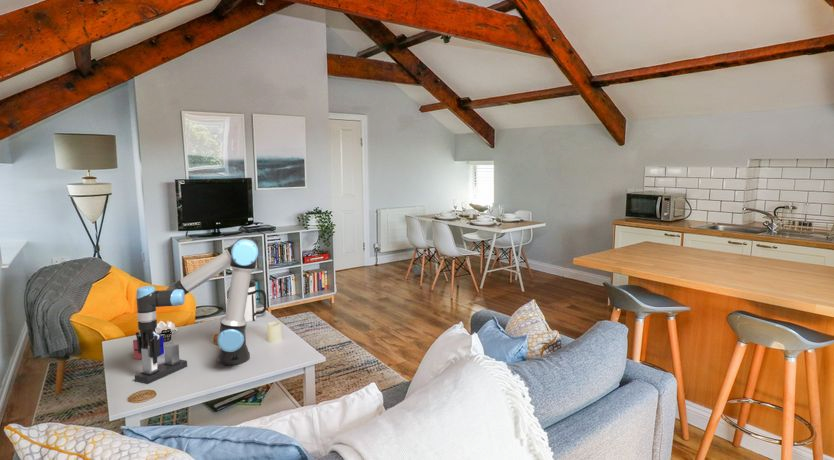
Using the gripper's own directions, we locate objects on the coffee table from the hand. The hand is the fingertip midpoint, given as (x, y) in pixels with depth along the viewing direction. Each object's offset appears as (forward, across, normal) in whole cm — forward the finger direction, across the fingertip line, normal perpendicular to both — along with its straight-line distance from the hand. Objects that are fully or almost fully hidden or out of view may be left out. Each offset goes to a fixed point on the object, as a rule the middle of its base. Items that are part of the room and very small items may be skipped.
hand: (150, 368), depth 220 cm
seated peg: (+5, 0, -12) cm, 13 cm away
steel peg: (+2, 0, 0) cm, 2 cm away
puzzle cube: (+5, +26, -20) cm, 33 cm away
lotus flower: (+5, +48, -48) cm, 69 cm away
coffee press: (+5, +19, -87) cm, 90 cm away
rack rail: (+5, 0, -6) cm, 8 cm away
